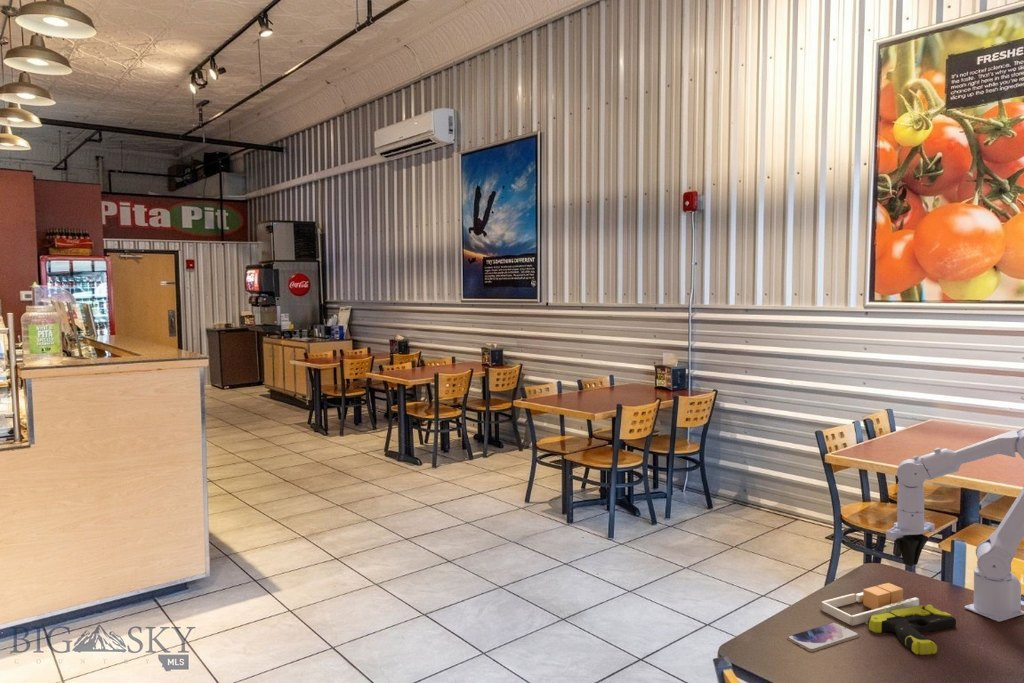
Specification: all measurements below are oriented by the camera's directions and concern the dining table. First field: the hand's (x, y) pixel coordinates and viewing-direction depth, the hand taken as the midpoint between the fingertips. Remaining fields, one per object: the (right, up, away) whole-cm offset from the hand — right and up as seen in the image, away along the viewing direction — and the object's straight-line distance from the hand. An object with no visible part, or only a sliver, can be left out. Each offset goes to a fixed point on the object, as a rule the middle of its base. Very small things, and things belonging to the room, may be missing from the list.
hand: (910, 563), depth 167 cm
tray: (-17, -9, -7) cm, 21 cm away
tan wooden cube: (-10, -9, -4) cm, 14 cm away
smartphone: (-30, -11, -18) cm, 36 cm away
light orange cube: (-6, -9, -2) cm, 11 cm away
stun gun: (-7, -10, -17) cm, 21 cm away
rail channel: (-7, -9, -3) cm, 12 cm away
